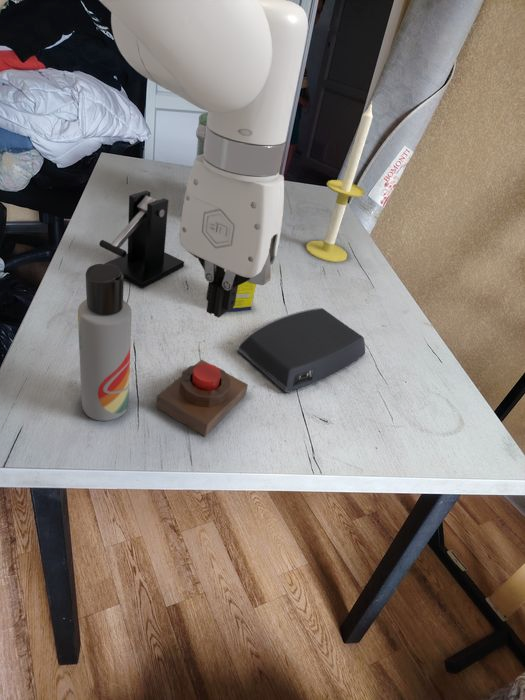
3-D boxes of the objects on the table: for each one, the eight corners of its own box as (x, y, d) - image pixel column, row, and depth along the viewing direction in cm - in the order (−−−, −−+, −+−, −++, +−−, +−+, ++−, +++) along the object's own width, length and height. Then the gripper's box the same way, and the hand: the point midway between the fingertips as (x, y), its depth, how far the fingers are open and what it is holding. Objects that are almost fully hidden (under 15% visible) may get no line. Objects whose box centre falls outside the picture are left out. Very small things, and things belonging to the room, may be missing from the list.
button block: (205, 437, 61) (209, 415, 58) (155, 407, 63) (157, 385, 61) (245, 395, 68) (250, 374, 66) (200, 370, 71) (203, 349, 68)
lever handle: (124, 261, 80) (119, 252, 78) (102, 250, 82) (96, 241, 80) (166, 211, 84) (162, 202, 82) (144, 202, 86) (140, 192, 84)
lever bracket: (142, 288, 85) (146, 215, 77) (104, 269, 87) (103, 196, 79) (183, 266, 94) (191, 199, 86) (147, 249, 96) (151, 182, 88)
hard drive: (232, 348, 76) (236, 328, 74) (313, 318, 88) (319, 299, 86) (288, 398, 70) (295, 377, 67) (367, 358, 81) (375, 339, 79)
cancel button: (208, 395, 62) (210, 385, 61) (186, 382, 63) (187, 372, 62) (224, 381, 64) (226, 371, 63) (202, 369, 65) (203, 359, 64)
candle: (352, 252, 115) (402, 106, 96) (338, 266, 107) (389, 111, 88) (315, 237, 118) (356, 92, 98) (299, 250, 110) (340, 95, 91)
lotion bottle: (136, 411, 62) (143, 277, 50) (94, 428, 58) (91, 288, 47) (115, 385, 65) (116, 252, 53) (74, 399, 61) (66, 261, 49)
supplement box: (208, 294, 88) (217, 240, 81) (238, 292, 90) (248, 239, 84) (220, 313, 84) (229, 257, 77) (251, 310, 86) (263, 256, 80)
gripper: (156, 135, 45) (149, 297, 56) (294, 186, 41) (256, 352, 52) (202, 125, 51) (187, 275, 62) (328, 170, 46) (287, 323, 58)
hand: (219, 310), depth 57 cm, fingers closed
